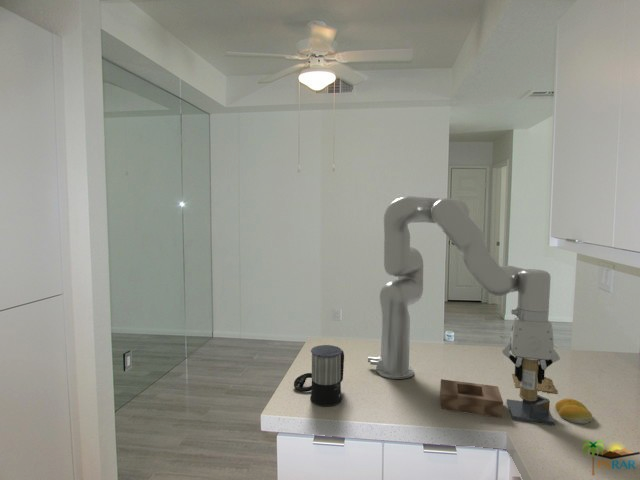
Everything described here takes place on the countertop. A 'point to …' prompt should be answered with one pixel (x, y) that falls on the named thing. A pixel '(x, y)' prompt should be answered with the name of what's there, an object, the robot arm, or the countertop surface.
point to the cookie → (540, 385)
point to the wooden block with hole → (471, 398)
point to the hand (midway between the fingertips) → (529, 379)
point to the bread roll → (573, 411)
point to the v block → (531, 410)
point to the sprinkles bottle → (529, 379)
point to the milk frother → (324, 375)
